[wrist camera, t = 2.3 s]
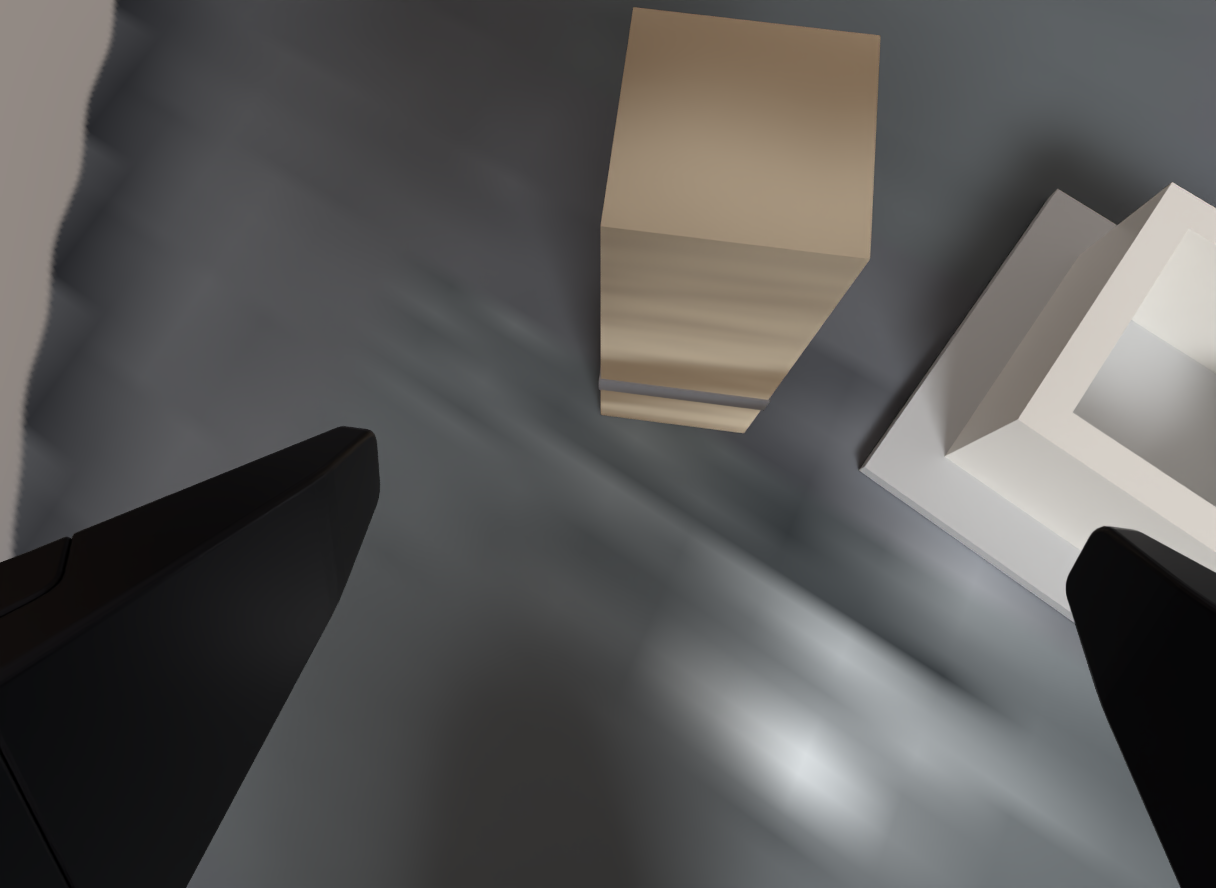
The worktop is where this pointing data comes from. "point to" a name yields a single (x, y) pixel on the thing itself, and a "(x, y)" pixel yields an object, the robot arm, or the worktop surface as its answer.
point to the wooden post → (730, 210)
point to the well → (1073, 396)
